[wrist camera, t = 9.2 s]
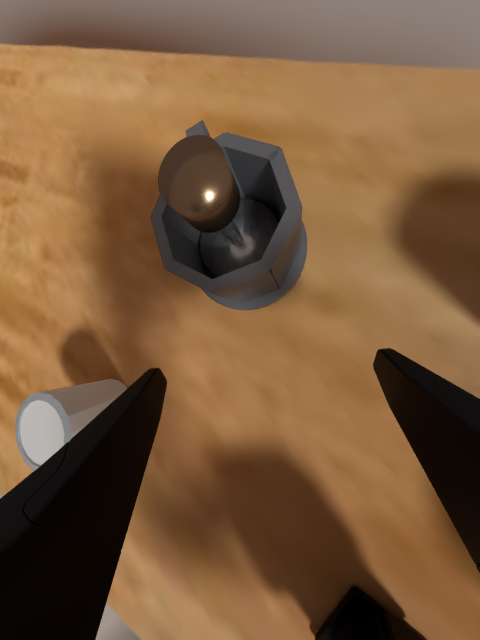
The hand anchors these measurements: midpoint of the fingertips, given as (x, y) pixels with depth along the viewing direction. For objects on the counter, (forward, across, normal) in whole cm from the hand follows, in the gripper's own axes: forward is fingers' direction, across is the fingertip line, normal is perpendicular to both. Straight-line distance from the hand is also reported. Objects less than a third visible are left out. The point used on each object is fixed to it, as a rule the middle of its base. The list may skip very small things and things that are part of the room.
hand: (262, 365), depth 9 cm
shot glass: (+7, +18, +12) cm, 23 cm away
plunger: (+12, +1, -2) cm, 12 cm away
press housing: (+14, +1, 0) cm, 14 cm away
